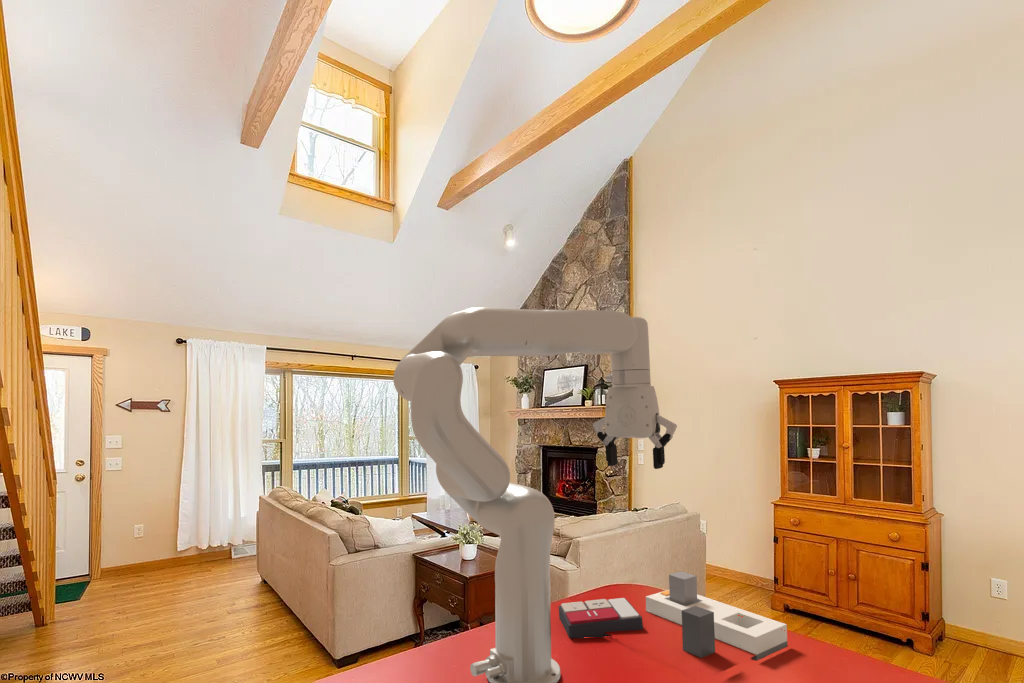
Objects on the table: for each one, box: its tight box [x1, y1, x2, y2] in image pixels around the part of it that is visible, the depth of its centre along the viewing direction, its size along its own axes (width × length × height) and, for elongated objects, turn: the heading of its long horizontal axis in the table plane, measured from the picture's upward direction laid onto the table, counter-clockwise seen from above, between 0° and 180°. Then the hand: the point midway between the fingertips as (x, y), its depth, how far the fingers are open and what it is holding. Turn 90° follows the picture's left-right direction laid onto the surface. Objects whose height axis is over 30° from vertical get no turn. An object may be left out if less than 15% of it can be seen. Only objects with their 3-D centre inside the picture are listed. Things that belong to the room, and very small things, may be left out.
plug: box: [681, 606, 716, 659], centre depth 107 cm, size 4×4×8 cm
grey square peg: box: [668, 571, 698, 606], centre depth 124 cm, size 4×4×8 cm
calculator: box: [558, 597, 644, 639], centre depth 121 cm, size 11×4×15 cm
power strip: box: [645, 589, 788, 661], centre depth 118 cm, size 10×26×4 cm, turn 35°
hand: (635, 466), depth 115 cm, fingers open, 9 cm apart
